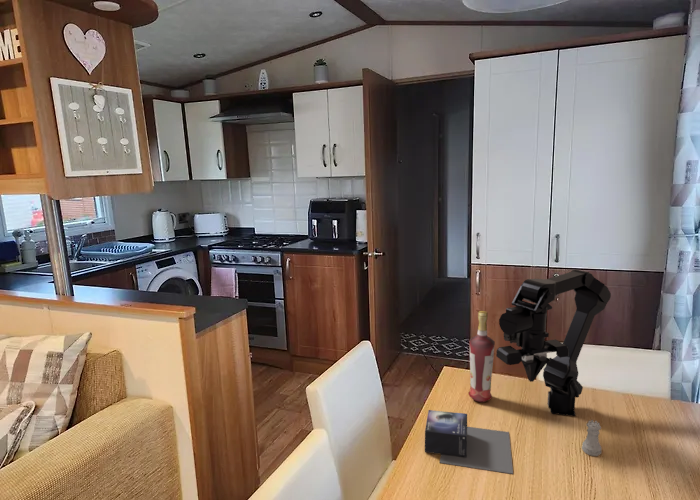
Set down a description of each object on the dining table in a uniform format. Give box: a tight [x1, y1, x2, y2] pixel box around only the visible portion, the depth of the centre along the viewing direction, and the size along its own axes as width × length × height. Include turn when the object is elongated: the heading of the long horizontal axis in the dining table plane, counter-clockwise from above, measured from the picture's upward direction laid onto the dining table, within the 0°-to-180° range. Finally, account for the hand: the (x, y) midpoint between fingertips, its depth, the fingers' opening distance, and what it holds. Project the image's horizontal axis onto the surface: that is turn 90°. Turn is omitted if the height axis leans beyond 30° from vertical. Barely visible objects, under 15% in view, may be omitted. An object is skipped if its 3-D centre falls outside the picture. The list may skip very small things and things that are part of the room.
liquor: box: [468, 310, 495, 403], centre depth 138 cm, size 7×7×28 cm
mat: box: [439, 426, 514, 475], centre depth 118 cm, size 17×17×1 cm
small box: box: [424, 409, 468, 457], centre depth 119 cm, size 11×6×10 cm
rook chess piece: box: [581, 419, 603, 457], centre depth 114 cm, size 4×4×8 cm
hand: (530, 380), depth 124 cm, fingers closed
